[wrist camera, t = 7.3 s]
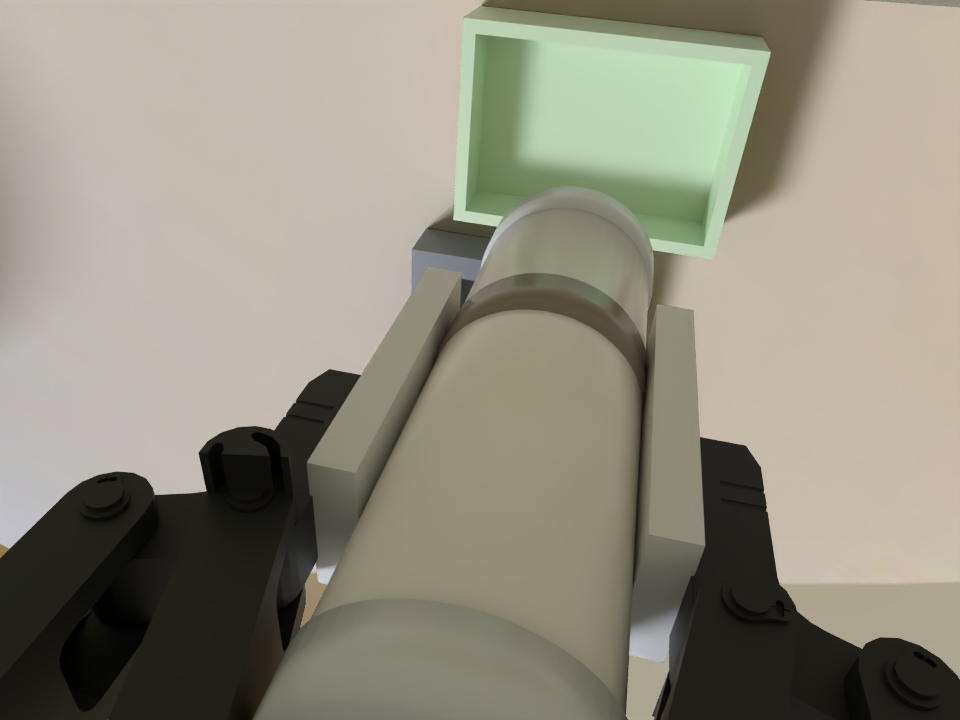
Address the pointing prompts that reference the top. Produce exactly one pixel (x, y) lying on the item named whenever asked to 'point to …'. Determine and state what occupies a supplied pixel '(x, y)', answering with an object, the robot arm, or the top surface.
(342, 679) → the cylinder
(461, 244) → the fuse holder
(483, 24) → the parts tray
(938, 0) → the light bulb box
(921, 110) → the top surface
